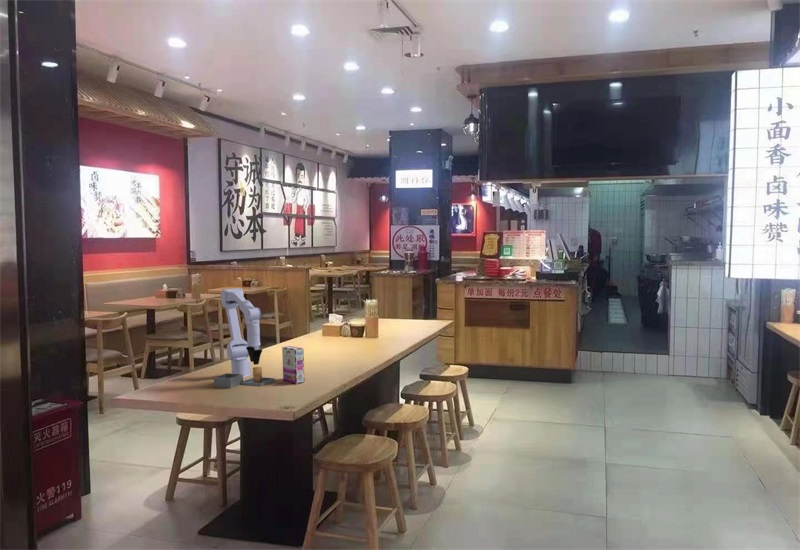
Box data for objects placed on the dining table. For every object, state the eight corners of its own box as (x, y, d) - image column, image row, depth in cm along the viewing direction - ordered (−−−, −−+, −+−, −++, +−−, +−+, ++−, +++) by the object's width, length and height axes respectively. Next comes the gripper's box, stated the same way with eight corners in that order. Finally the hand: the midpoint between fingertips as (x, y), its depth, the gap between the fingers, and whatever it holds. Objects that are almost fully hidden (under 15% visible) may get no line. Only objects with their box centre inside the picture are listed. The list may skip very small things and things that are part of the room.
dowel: (256, 381, 289) (256, 366, 289) (263, 381, 288) (263, 367, 287) (251, 383, 285) (251, 368, 285) (258, 383, 284) (258, 368, 283)
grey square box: (226, 383, 289) (226, 373, 288) (243, 384, 285) (242, 374, 285) (214, 388, 280) (213, 377, 280) (231, 389, 277) (230, 378, 277)
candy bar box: (305, 382, 287) (304, 347, 286) (296, 384, 283) (295, 349, 282) (291, 379, 294) (290, 345, 294) (282, 381, 291) (281, 346, 290)
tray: (254, 380, 294) (254, 376, 293) (274, 381, 290) (274, 378, 290) (241, 385, 283) (241, 382, 283) (261, 387, 279) (261, 383, 279)
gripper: (241, 332, 290) (243, 361, 291) (247, 337, 277) (248, 366, 278) (256, 331, 293) (258, 359, 294) (263, 335, 280) (264, 364, 281)
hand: (254, 362), depth 286 cm, fingers open, 7 cm apart
